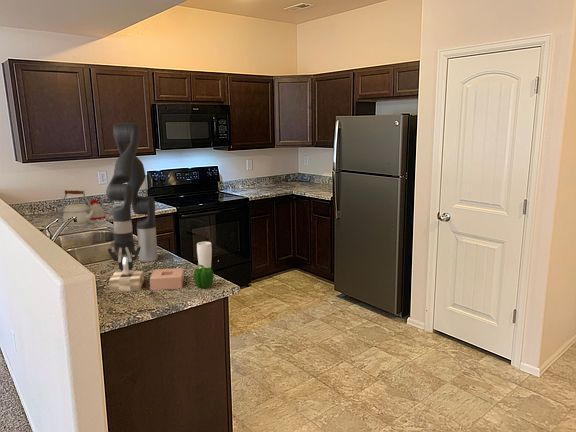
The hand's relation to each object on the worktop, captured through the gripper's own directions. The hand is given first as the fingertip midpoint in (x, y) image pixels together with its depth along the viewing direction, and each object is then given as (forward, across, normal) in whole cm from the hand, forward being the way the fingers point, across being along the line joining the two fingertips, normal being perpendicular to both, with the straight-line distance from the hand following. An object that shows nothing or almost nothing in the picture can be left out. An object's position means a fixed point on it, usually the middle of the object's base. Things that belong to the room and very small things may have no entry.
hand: (126, 269), depth 191 cm
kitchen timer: (+9, +54, -165) cm, 174 cm away
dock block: (+8, -17, 0) cm, 19 cm away
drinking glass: (+8, -33, -11) cm, 36 cm away
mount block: (+8, 0, 0) cm, 8 cm away
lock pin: (+6, 0, 0) cm, 6 cm away
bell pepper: (+8, -33, +6) cm, 34 cm away
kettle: (+9, +59, -141) cm, 153 cm away
